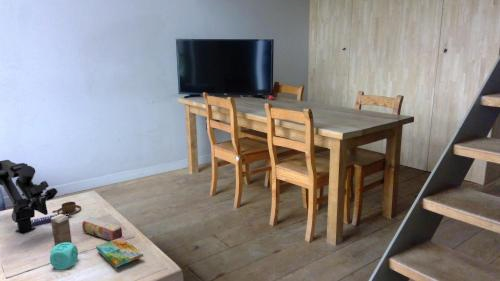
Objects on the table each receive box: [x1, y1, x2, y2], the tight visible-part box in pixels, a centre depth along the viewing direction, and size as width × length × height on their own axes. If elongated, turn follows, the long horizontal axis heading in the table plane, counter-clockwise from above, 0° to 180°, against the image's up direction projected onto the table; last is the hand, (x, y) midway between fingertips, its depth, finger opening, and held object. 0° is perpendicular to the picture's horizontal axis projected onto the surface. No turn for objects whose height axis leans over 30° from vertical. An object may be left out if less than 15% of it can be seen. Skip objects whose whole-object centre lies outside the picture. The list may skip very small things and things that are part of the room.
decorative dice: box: [49, 242, 79, 271], centre depth 162 cm, size 8×8×8 cm
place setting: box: [52, 201, 82, 216], centre depth 210 cm, size 18×20×6 cm
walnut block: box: [50, 214, 73, 246], centre depth 176 cm, size 5×5×14 cm
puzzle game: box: [95, 236, 144, 268], centre depth 167 cm, size 12×5×20 cm
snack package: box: [81, 217, 123, 242], centre depth 186 cm, size 21×7×7 cm, turn 60°
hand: (46, 214), depth 178 cm, fingers closed
